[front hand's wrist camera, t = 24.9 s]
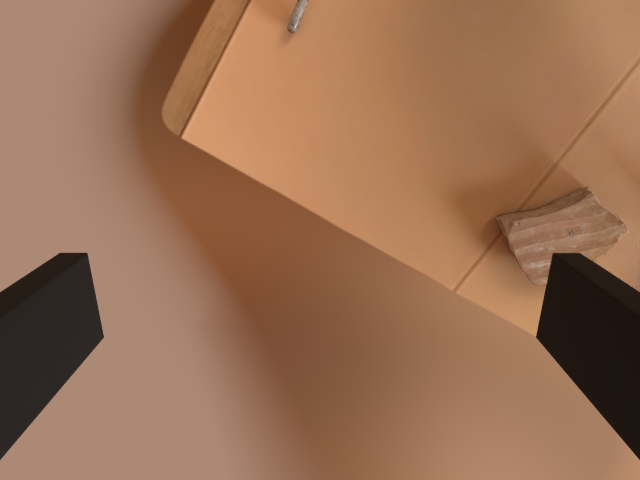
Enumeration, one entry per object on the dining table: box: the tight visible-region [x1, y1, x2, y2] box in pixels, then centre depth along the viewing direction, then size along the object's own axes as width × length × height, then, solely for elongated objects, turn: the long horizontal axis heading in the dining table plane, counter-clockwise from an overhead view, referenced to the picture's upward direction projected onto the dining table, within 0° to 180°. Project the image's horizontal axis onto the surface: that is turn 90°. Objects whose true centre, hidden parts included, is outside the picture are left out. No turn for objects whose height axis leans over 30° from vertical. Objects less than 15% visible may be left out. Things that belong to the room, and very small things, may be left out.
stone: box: [495, 187, 628, 285], centre depth 53 cm, size 13×12×2 cm
